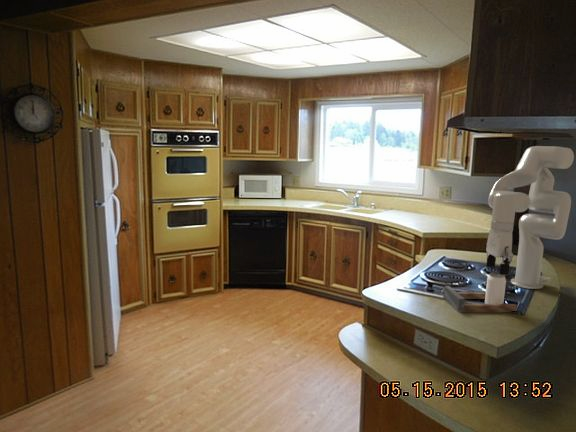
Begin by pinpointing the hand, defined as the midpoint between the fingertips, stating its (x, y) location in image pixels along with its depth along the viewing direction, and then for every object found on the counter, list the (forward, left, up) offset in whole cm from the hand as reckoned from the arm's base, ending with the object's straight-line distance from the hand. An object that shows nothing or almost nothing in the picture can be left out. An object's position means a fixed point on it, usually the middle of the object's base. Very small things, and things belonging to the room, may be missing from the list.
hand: (496, 270), depth 164 cm
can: (0, 0, -14) cm, 14 cm away
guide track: (+6, 0, -14) cm, 15 cm away
